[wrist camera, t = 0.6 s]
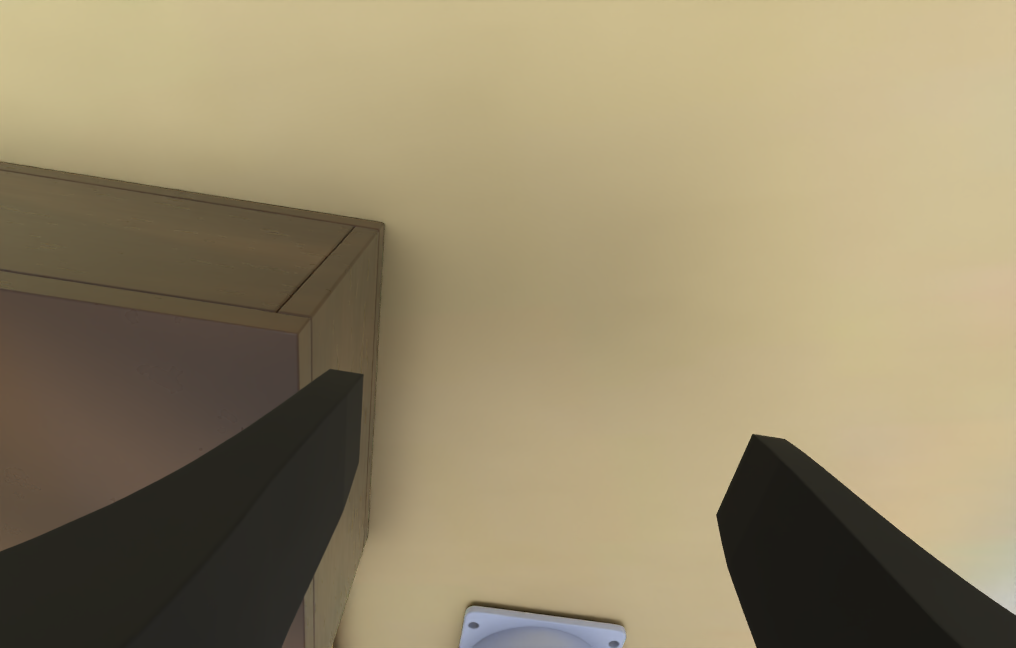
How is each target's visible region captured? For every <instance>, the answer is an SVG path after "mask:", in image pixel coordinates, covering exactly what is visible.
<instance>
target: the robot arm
mask: <svg viewBox="0 0 1016 648" xmlns="http://www.w3.org/2000/svg"><path fill="white" fill-rule="evenodd" d="M363 378H364V374H360V373H354V372H347V371H341V370H334V369H329V370H328V371H326V372H325V373H323V374H322V375H320V376H319V377H317V378H316V379H315V380H313V381H312V382H310V383H309V384H308V385H306V386H305V387H303V388H302V389H301V390H299V391H298V392H297V393H295V394H294V395H292V396H291V397H290V398H288V399H287V400H286V401H284V402H283V403H281V404H280V405H279V406H277V407H276V408H274V409H273V410H271V411H270V412H268V413H267V414H266V415H264V416H263V417H261V418H260V419H258V420H257V421H255V422H254V423H252V424H251V425H250V426H248V427H247V428H245V429H244V430H242V431H241V432H239V433H238V434H236V435H234V436H233V437H231V438H230V439H228V440H226V441H225V442H223V443H222V444H220V445H218V446H217V447H215V448H214V449H212V450H210V451H209V452H207V453H205V454H204V455H202V456H201V457H199V458H197V459H196V460H194V461H192V462H191V463H189V464H187V465H185V466H184V467H182V468H180V469H178V470H176V471H175V472H173V473H171V474H169V475H167V476H165V477H164V478H162V479H160V480H158V481H156V482H154V483H152V484H150V485H148V486H146V487H144V488H142V489H140V490H138V491H136V492H134V493H132V494H130V495H128V496H126V497H124V498H122V499H120V500H118V501H116V502H114V503H112V504H110V505H108V506H105V507H103V508H101V509H99V510H96V511H94V512H92V513H89V514H87V515H85V516H83V517H80V518H78V519H76V520H74V521H71V522H69V523H67V524H65V525H62V526H60V527H58V528H56V529H53V530H51V531H49V532H47V533H44V534H42V535H40V536H37V537H35V538H33V539H30V540H28V541H25V542H23V543H20V544H18V545H15V546H13V547H10V548H8V549H5V550H3V551H0V648H282V645H283V643H284V641H285V638H286V636H287V633H288V631H289V629H290V626H291V624H292V622H293V620H294V618H295V616H296V613H297V611H298V609H299V607H300V605H301V603H302V601H303V598H304V596H305V594H306V592H307V590H308V588H309V585H310V583H311V581H312V579H313V577H314V575H315V572H316V570H317V568H318V566H319V564H320V562H321V559H322V557H323V555H324V553H325V551H326V549H327V546H328V544H329V542H330V540H331V538H332V536H333V533H334V531H335V529H336V527H337V525H338V522H339V520H340V518H341V516H342V513H343V511H344V508H345V505H346V502H347V499H348V496H349V493H350V490H351V487H352V483H353V480H354V477H355V474H356V471H357V467H358V464H359V456H360V436H361V417H362V397H363ZM716 516H717V521H718V526H719V531H720V536H721V541H722V546H723V550H724V554H725V558H726V562H727V567H728V570H729V573H730V576H731V578H732V581H733V584H734V587H735V590H736V593H737V595H738V598H739V601H740V604H741V606H742V609H743V612H744V615H745V617H746V620H747V623H748V626H749V628H750V631H751V634H752V636H753V639H754V642H755V644H756V647H757V648H1016V615H1014V614H1013V613H1011V612H1010V611H1008V610H1007V609H1005V608H1004V607H1002V606H1001V605H1000V604H998V603H997V602H995V601H994V600H992V599H991V598H989V597H988V596H986V595H985V594H984V593H982V592H981V591H979V590H978V589H977V588H975V587H974V586H972V585H971V584H970V583H968V582H967V581H965V580H964V579H963V578H961V577H960V576H959V575H957V574H956V573H955V572H953V571H952V570H951V569H949V568H948V567H947V566H945V565H944V564H943V563H941V562H940V561H939V560H937V559H936V558H935V557H933V556H932V555H931V554H929V553H928V552H927V551H925V550H924V549H923V548H921V547H920V546H919V545H918V544H916V543H915V542H914V541H913V540H911V539H910V538H909V537H907V536H906V535H905V534H904V533H902V532H901V531H900V530H899V529H897V528H896V527H895V526H894V525H892V524H891V523H890V522H889V521H887V520H886V519H885V518H884V517H882V516H881V515H880V514H879V513H877V512H876V511H875V510H874V509H873V508H871V507H870V506H869V505H868V504H866V503H865V502H864V501H863V500H862V499H860V498H859V497H858V496H857V495H855V494H854V493H853V492H852V491H851V490H849V489H848V488H847V487H846V486H845V485H843V484H842V483H841V482H840V481H838V480H837V479H836V478H835V477H834V476H832V475H831V474H830V473H829V472H827V471H826V470H825V469H824V468H823V467H821V466H820V465H819V464H818V463H816V462H815V461H814V460H813V459H811V458H810V457H809V456H807V455H806V454H805V453H804V452H802V451H801V450H800V449H798V448H797V447H795V446H794V445H793V444H791V443H790V442H788V441H787V440H785V439H781V438H775V437H768V436H762V435H755V434H752V436H751V439H750V441H749V443H748V445H747V448H746V450H745V452H744V454H743V457H742V459H741V461H740V463H739V465H738V468H737V470H736V472H735V474H734V477H733V479H732V481H731V483H730V485H729V488H728V490H727V492H726V494H725V497H724V499H723V501H722V503H721V506H720V508H719V510H718V512H717V514H716ZM625 640H626V631H625V628H624V627H622V626H621V625H617V624H610V623H603V622H595V621H588V620H580V619H573V618H565V617H558V616H550V615H543V614H535V613H528V612H520V611H513V610H505V609H498V608H490V607H483V606H470V607H468V608H467V609H466V611H465V616H464V622H463V627H462V633H461V638H460V644H459V648H622V647H623V645H624V642H625Z"/></svg>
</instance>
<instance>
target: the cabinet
mask: <svg viewBox="0 0 1016 648" xmlns="http://www.w3.org/2000/svg"><path fill="white" fill-rule="evenodd" d="M383 244H384V223H382V222H376V221H369V220H363V219H357V218H350V217H344V216H338V215H331V214H325V213H319V212H312V211H306V210H300V209H293V208H287V207H281V206H274V205H268V204H262V203H256V202H249V201H243V200H237V199H230V198H224V197H218V196H211V195H205V194H199V193H192V192H186V191H180V190H173V189H167V188H161V187H154V186H148V185H142V184H135V183H129V182H123V181H117V180H110V179H104V178H98V177H91V176H85V175H79V174H72V173H66V172H60V171H53V170H47V169H41V168H34V167H28V166H22V165H15V164H9V163H3V162H0V551H3V550H5V549H8V548H10V547H13V546H15V545H18V544H20V543H23V542H25V541H28V540H30V539H33V538H35V537H37V536H40V535H42V534H44V533H47V532H49V531H51V530H53V529H56V528H58V527H60V526H62V525H65V524H67V523H69V522H71V521H74V520H76V519H78V518H80V517H83V516H85V515H87V514H89V513H92V512H94V511H96V510H99V509H101V508H103V507H105V506H108V505H110V504H112V503H114V502H116V501H118V500H120V499H122V498H124V497H126V496H128V495H130V494H132V493H134V492H136V491H138V490H140V489H142V488H144V487H146V486H148V485H150V484H152V483H154V482H156V481H158V480H160V479H162V478H164V477H165V476H167V475H169V474H171V473H173V472H175V471H176V470H178V469H180V468H182V467H184V466H185V465H187V464H189V463H191V462H192V461H194V460H196V459H197V458H199V457H201V456H202V455H204V454H205V453H207V452H209V451H210V450H212V449H214V448H215V447H217V446H218V445H220V444H222V443H223V442H225V441H226V440H228V439H230V438H231V437H233V436H234V435H236V434H238V433H239V432H241V431H242V430H244V429H245V428H247V427H248V426H250V425H251V424H252V423H254V422H255V421H257V420H258V419H260V418H261V417H263V416H264V415H266V414H267V413H268V412H270V411H271V410H273V409H274V408H276V407H277V406H279V405H280V404H281V403H283V402H284V401H286V400H287V399H288V398H290V397H291V396H292V395H294V394H295V393H297V392H298V391H299V390H301V389H302V388H303V387H305V386H306V385H308V384H309V383H310V382H312V381H313V380H315V379H316V378H317V377H319V376H320V375H322V374H323V373H325V372H326V371H328V370H329V369H334V370H341V371H347V372H354V373H360V374H364V378H363V397H362V417H361V436H360V456H359V464H358V467H357V471H356V474H355V477H354V480H353V483H352V487H351V490H350V493H349V496H348V499H347V502H346V505H345V508H344V511H343V513H342V516H341V518H340V520H339V522H338V525H337V527H336V529H335V531H334V533H333V536H332V538H331V540H330V542H329V544H328V546H327V549H326V551H325V553H324V555H323V557H322V559H321V562H320V564H319V566H318V568H317V570H316V572H315V575H314V577H313V579H312V581H311V583H310V585H309V588H308V590H307V592H306V594H305V596H304V598H303V601H302V603H301V605H300V607H299V609H298V611H297V613H296V616H295V618H294V620H293V622H292V624H291V626H290V629H289V631H288V633H287V636H286V638H285V641H284V643H283V645H282V648H332V645H333V641H334V638H335V635H336V632H337V629H338V626H339V623H340V620H341V617H342V614H343V611H344V608H345V605H346V601H347V598H348V595H349V592H350V589H351V586H352V583H353V580H354V577H355V574H356V571H357V568H358V565H359V562H360V558H361V555H362V552H363V548H364V546H365V543H366V540H367V537H368V523H369V505H370V486H371V467H372V449H373V430H374V412H375V393H376V374H377V356H378V337H379V318H380V300H381V281H382V263H383Z"/></svg>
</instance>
